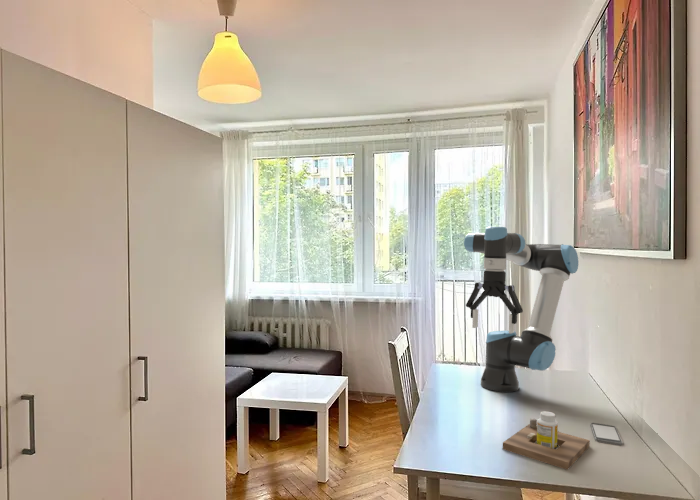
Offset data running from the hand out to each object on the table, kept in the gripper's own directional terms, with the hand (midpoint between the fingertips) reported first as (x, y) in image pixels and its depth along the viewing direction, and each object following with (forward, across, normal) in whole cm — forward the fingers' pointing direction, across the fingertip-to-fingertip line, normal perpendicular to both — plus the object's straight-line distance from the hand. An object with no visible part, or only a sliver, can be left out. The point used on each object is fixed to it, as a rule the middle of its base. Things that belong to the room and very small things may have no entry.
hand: (492, 330), depth 172 cm
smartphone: (+29, +36, +6) cm, 47 cm away
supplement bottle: (+29, +26, -18) cm, 43 cm away
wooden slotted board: (+29, +26, -18) cm, 43 cm away
